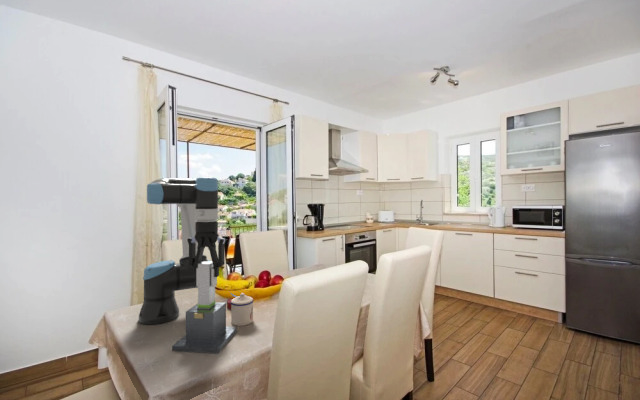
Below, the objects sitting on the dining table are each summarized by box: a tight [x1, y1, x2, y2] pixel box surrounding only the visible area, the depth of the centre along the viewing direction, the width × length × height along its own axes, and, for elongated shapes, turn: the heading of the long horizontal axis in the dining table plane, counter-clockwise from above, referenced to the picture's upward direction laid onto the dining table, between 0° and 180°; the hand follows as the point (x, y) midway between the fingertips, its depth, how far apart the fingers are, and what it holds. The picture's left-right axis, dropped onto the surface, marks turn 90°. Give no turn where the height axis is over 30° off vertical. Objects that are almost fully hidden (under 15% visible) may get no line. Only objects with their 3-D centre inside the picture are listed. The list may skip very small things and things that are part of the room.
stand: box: [171, 301, 238, 354], centre depth 104 cm, size 16×16×12 cm
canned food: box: [226, 293, 238, 310], centre depth 138 cm, size 11×10×10 cm
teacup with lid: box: [230, 292, 254, 327], centre depth 121 cm, size 12×9×12 cm
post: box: [197, 260, 216, 310], centre depth 104 cm, size 4×4×20 cm
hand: (206, 285), depth 104 cm, fingers open, 5 cm apart
